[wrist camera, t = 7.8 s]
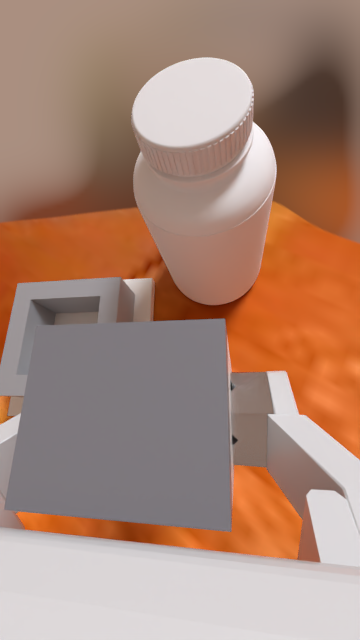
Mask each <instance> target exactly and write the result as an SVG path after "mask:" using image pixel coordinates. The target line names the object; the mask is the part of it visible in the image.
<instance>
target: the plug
mask: <svg viewBox="0 0 360 640" xmlns="http://www.w3.org/2000/svg"><path fill="white" fill-rule="evenodd" d="M230 372H232V370H231V362H230V354H229V346H228V338H227V330H226V322H225V319H199V320H172V321H146V322H120V323H93V324H67V325H40V326H36V331H35V337H34V342H33V348H32V354H31V359H30V365H29V371H28V376H27V382H26V388H25V393H24V399H23V405H22V410H21V416H20V422H19V427H18V433H17V439H16V444H15V450H14V456H13V461H12V467H11V473H10V478H9V484H8V490H7V495H6V501H5V507H4V510H10V511H20V512H31V513H41V514H52V515H62V516H72V517H83V518H93V519H104V520H114V521H124V522H135V523H145V524H155V525H166V526H176V527H187V528H197V529H207V530H218V531H228V532H231V527H232V504H233V481H234V465H233V449H232V429H231V399H230V392H231V386H230Z"/></svg>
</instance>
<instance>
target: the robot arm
mask: <svg viewBox="0 0 360 640" xmlns="http://www.w3.org/2000/svg"><path fill="white" fill-rule="evenodd" d="M230 386H231V392H230V399H231V429H232V449H233V465H245V466H257V467H267V470H268V472H269V473H270V474H271V476H272V477H273V479H274V480H275V482H276V483H277V484H278V486H279V487H280V489H281V490H282V491H283V493H284V494H285V496H286V497H287V499H288V500H289V501H290V503H291V504H292V506H293V507H294V508H295V510H296V511H297V513H298V514H299V516H300V517H301V518H302V520H303V523H302V530H301V538H300V545H299V552H298V560H293V559H284V558H275V557H266V556H257V555H248V554H239V553H230V552H221V551H212V550H203V549H194V548H185V547H176V546H168V545H159V544H150V543H141V542H132V541H123V540H114V539H105V538H96V537H87V536H77V535H68V534H59V533H50V532H41V531H32V530H25V527H24V525H23V524H22V522H21V521H20V519H19V518H18V516H17V515H16V513H17V512H18V511H10V510H4V507H5V501H6V495H7V490H8V484H9V478H10V473H11V467H12V461H13V456H14V450H15V444H16V439H17V433H18V427H19V422H20V416H21V413H20V414H18V415H17V416H15V417H13V418H11V419H10V420H8V421H6V422H4V423H3V424H1V425H0V640H360V460H359V459H358V458H357V457H355V456H354V455H353V454H352V453H350V452H349V451H348V450H347V449H346V448H344V447H343V446H342V445H341V444H340V443H338V442H337V441H336V440H335V439H334V438H332V437H331V436H330V435H329V434H327V433H326V432H325V431H324V430H323V429H321V428H320V427H319V426H318V425H317V424H315V423H314V422H313V421H312V420H311V419H309V418H308V417H307V416H306V415H299V413H298V410H297V406H296V403H295V399H294V396H293V393H292V389H291V386H290V382H289V379H288V375H287V373H286V372H285V371H266V372H230Z"/></svg>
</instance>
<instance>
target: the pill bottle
mask: <svg viewBox="0 0 360 640" xmlns="http://www.w3.org/2000/svg"><path fill="white" fill-rule="evenodd" d="M253 104H254V91H253V86H252V84H251V81H250V80H249V78H248V76H247V75H246V74H245V72H244V71H243V70H242V69H241V68H239V67H238V66H236V65H235V64H233V63H231V62H229V61H226V60H223V59H217V58H195V59H190V60H186V61H182V62H179V63H176V64H174V65H172V66H170V67H168V68H166V69H164V70H162V71H161V72H159V73H158V74H156V75H155V76H154V77H153V78H151V79H150V80H149V81H148V82H147V83H146V84H145V86H143V88H142V89H141V90H140V92H139V94H138V95H137V97H136V99H135V102H134V105H133V109H132V114H131V115H132V116H131V123H132V128H133V131H134V133H135V136H136V139H137V141H138V144H139V147H140V149H141V152H140V154H139V156H138V159H137V161H136V165H135V169H134V176H133V185H134V196H135V200H136V202H137V205H138V208H139V210H140V212H141V215H142V217H143V219H144V221H145V223H146V225H147V227H148V229H149V231H150V233H151V235H152V237H153V239H154V241H155V243H156V245H157V248H158V250H159V252H160V254H161V256H162V258H163V260H164V262H165V264H166V266H167V268H168V270H169V272H170V274H171V276H172V279H173V281H174V282H175V284H176V286H177V287H178V288H179V290H180V291H181V292H182V293H183V294H184V295H185V296H187V297H188V298H190V299H191V300H193V301H195V302H198V303H201V304H206V305H221V304H226V303H229V302H232V301H234V300H236V299H238V298H240V297H241V296H243V295H244V294H245V293H246V292H247V291H248V290H249V289H250V288H251V287H252V285H253V284H254V282H255V280H256V278H257V276H258V274H259V271H260V267H261V261H262V255H263V250H264V244H265V238H266V233H267V227H268V221H269V215H270V210H271V204H272V198H273V193H274V187H275V180H276V161H275V157H274V152H273V149H272V146H271V144H270V142H269V140H268V138H267V136H266V135H265V133H264V132H263V131H262V130H261V129H260V128H259V127H258V126H257V125H256V124H255V123H254V122H253Z"/></svg>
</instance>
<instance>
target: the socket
mask: <svg viewBox="0 0 360 640" xmlns="http://www.w3.org/2000/svg"><path fill="white" fill-rule="evenodd" d="M154 295H155V282H154V280H153V279H152V278H146V279H130V280H123V279H122V278H121V277H114V278H97V279H81V280H65V281H49V282H33V283H18V285H17V289H16V294H15V299H14V304H13V308H12V313H11V318H10V323H9V327H8V332H7V337H6V342H5V346H4V351H3V356H2V360H1V365H0V396H10V397H11V399H10V404H9V410H8V415H7V416H17V415H18V414H20V413H21V410H22V405H23V399H24V393H25V388H26V382H27V376H28V371H29V365H30V359H31V354H32V348H33V342H34V337H35V331H36V326H40V325H67V324H93V323H120V322H146V321H153V314H154Z"/></svg>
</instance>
